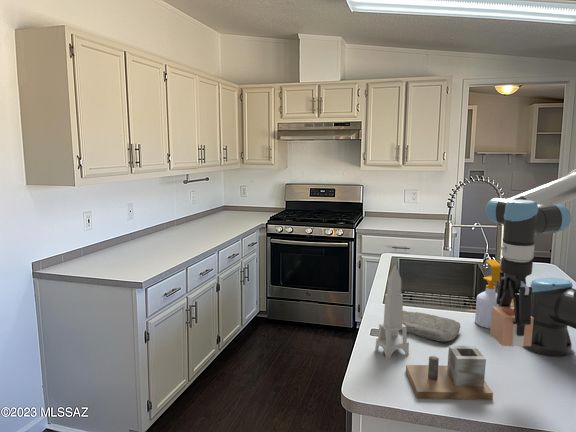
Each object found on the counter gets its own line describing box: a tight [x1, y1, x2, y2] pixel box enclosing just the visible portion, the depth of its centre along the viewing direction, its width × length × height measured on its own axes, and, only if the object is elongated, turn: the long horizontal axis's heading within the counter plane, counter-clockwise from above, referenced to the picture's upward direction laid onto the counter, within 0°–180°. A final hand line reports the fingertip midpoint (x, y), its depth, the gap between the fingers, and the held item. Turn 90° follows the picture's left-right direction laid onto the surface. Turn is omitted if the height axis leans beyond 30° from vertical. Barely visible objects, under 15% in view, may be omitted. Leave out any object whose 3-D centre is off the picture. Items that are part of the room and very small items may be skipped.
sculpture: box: [375, 264, 410, 360], centre depth 141 cm, size 7×8×30 cm
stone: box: [402, 310, 461, 343], centre depth 160 cm, size 26×4×15 cm
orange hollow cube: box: [489, 306, 534, 347], centre depth 120 cm, size 8×8×8 cm
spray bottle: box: [474, 259, 502, 329], centre depth 162 cm, size 9×9×25 cm
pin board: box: [405, 345, 494, 401], centre depth 124 cm, size 20×14×10 cm
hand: (510, 338), depth 120 cm, fingers closed on orange hollow cube, 8 cm apart
